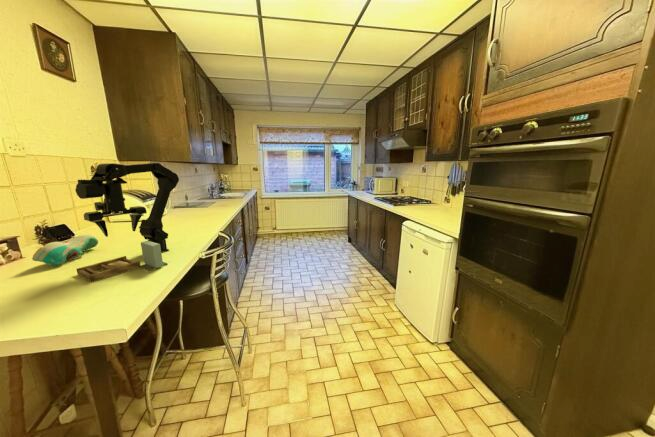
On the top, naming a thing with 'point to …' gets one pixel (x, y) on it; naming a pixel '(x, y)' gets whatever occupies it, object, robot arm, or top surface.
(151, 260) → the grey square block
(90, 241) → the athletic shoe
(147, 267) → the rubber mat
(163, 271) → the top surface
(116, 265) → the offcut stack
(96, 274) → the rack
